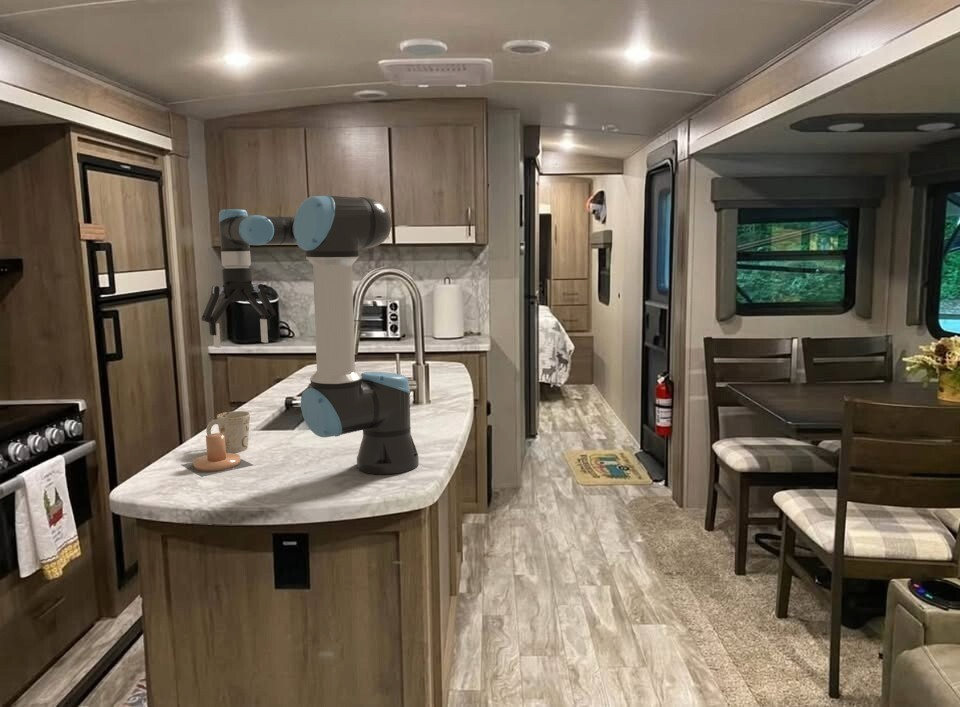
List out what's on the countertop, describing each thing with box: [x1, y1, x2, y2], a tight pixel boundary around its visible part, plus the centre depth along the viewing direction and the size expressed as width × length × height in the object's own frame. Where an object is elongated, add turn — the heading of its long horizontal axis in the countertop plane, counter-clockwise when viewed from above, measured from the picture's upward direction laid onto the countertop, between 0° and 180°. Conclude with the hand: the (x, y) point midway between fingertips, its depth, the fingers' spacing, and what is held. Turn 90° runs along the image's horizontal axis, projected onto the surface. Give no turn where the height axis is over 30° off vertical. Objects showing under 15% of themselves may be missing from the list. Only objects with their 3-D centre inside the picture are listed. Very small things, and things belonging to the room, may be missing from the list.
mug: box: [206, 410, 251, 454], centre depth 198 cm, size 8×13×10 cm, turn 78°
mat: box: [181, 458, 254, 478], centre depth 184 cm, size 13×13×1 cm
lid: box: [192, 432, 241, 472], centre depth 184 cm, size 11×11×8 cm
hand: (241, 344), depth 205 cm, fingers open, 13 cm apart
